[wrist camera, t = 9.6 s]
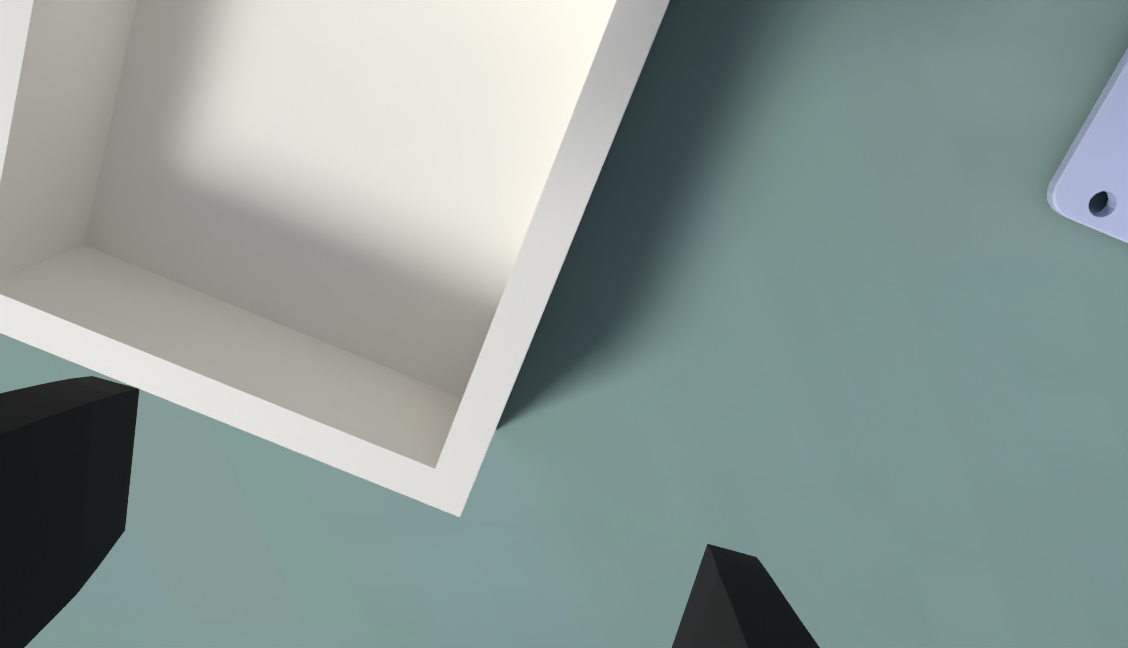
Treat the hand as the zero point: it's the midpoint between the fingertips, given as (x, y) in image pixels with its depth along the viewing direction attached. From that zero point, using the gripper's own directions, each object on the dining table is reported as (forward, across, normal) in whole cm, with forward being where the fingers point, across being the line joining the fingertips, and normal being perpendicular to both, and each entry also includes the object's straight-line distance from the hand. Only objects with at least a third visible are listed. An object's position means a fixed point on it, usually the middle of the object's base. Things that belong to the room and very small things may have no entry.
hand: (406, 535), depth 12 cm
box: (+10, +5, -3) cm, 12 cm away
